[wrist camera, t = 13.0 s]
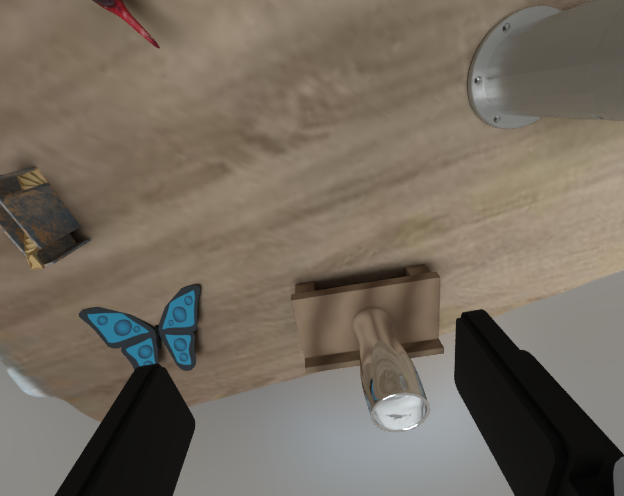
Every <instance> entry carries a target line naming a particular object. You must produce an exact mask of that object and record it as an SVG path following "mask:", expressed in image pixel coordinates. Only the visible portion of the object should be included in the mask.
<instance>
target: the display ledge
mask: <svg viewBox="0 0 624 496" xmlns="http://www.w3.org/2000/svg"><path fill="white" fill-rule="evenodd" d="M405 271H406V276H405V277H399V278H393V279H386V280H380V281H374V282H367V283H361V284H354V285H348V286H342V287H335V288H329V289H323V290H316V291H315V285H314V282H308V283H302V284H296V291H295V294H291V302H292V306H293V310H294V315H295V319H296V323H297V327H298V331H299V335H300V339H301V344H302V348H303V352H304V356H305V369H306V373H311V372H318V371H325V370H332V369H339V368H346V367H353V366H360V346H359V341H358V338H357V336H356V334H355V332H354V330H353V327H352V323H353V320H354V318H355V316H356V315H357V314H358V313H359V312H361V311H363V310H365V309H368V308H380V309H383V310H384V311H386V312H387V313H388V314H389V315H390V317H391V321H392V327H393V332H394V334H395V336H396V338H397V339H398V341H399V342H400V344H401V345H402V347H403V348H404V349H405V351H406V352H407V354H408V355H409V357H410V358H415V357H422V356H429V355H436V354H442V353H444V347H443V345H442V344H441V342H440V340H439V308H440V276H439V275H438V274H437V273H436V272H431V273H430V271H429V270H428V269H427V267H426V266H425V265H424V264H422V265H415V266H409V267H405Z"/></svg>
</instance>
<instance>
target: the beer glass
mask: <svg viewBox="0 0 624 496" xmlns="http://www.w3.org/2000/svg"><path fill="white" fill-rule="evenodd" d="M352 327H353V330H354V332H355V334H356V336H357V338H358V341H359V346H360V376H361V382H362V388H363V392H364V395H365V399H366V402H367V406H368V409H369V412H370V415H371V420H372V422H373V423H374V425H376V426H377V427H378V428H380V429H382V430H385V431H389V432H402V431H407V430H410V429H413V428H415V427H417V426H419V425H420V424H422V423H423V422H424V421H425V420H426V418H427V417H428V415H429V413H430V405H429V403H428V401H427V398H426V395H425V391H424V388H423V385H422V383H421V380H420V378H419V375H418V372H417V371H416V368H415V366H414V364H413V362H412V360H411V359H410V357H409V355H408V354H407V352H406V351H405V349H404V348H403V347H402V345H401V344H400V342H399V341H398V339H397V338H396V336H395V334H394V332H393V327H392V321H391V317H390V315H389V314H388V313H387V312H386V311H384V310H383V309H380V308H368V309H365V310H363V311H361V312H359V313H358V314H357V315H356V316H355V318H354V320H353V323H352Z"/></svg>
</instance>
